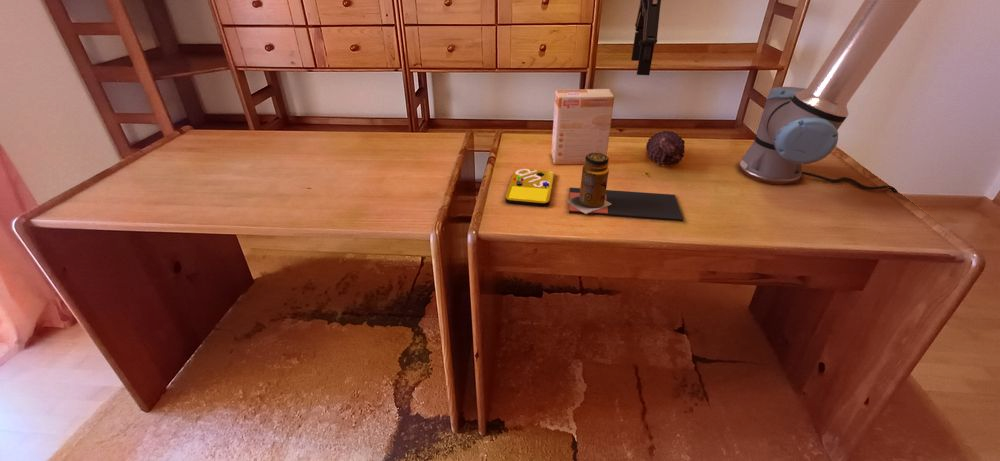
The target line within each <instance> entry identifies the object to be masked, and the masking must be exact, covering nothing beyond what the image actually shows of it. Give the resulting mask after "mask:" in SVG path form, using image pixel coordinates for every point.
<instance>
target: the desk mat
mask: <svg viewBox="0 0 1000 461" xmlns="http://www.w3.org/2000/svg"><path fill="white" fill-rule="evenodd" d="M578 196H580V187H569V199H572V198H574V197H578ZM605 201H607V202H609V203H611V205H609V206H606V207H604V208H601V209H598V210H595V211H592V212H589V213H587V214H585V213H583V212H581V211H580V210H578V209H576V208H575V207H573V206H572V205H571V204H569V203H568V213H569V214H575V215H576V214H577V215H588V216H589V215H591V216H602V217H603V216H605V217H617V218H629V219H630V218H632V219H643V220H644V219H645V220H646V219H647V220H657V221H670V222H671V221H672V222H684V218H683V215H682V211H681V208H680V206H679V203H678V201H677V197H676V195H675V194H669V193H656V192H655V193H654V192H643V191H641V192H639V191H627V190H626V191H625V190H612V189H606V194H605Z"/></svg>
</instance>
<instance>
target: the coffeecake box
mask: <svg viewBox="0 0 1000 461" xmlns="http://www.w3.org/2000/svg"><path fill="white" fill-rule="evenodd" d="M614 103H615V95H614V94H613V93H612V91H611V89H610V88H586V89H585V88H583V89H582V88H581V89H578V88H575V89H555V94H554V108H553V121H552V122H553V124H552V140H551V157H552V162H553V164H554V165H584V164H585V160H586V159H585V158H586V155H587V154H590V153H602V154H605V155H606V156H607V157H608V151H609V150H608V149H609V142H610V141H609V140H610V133H611V126H612V118H613V109H614Z"/></svg>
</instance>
